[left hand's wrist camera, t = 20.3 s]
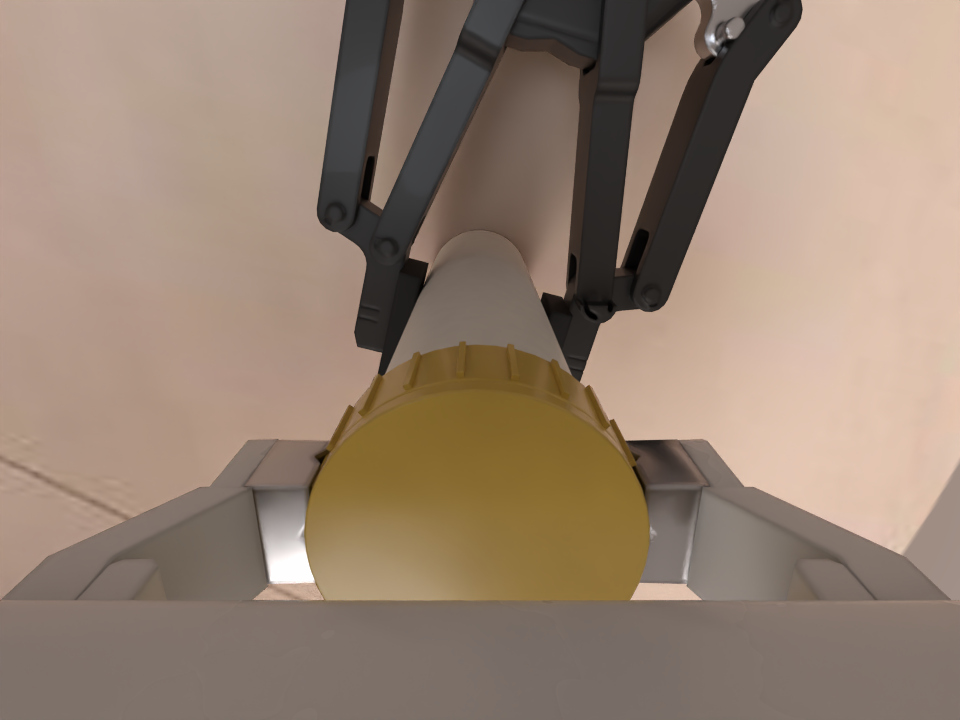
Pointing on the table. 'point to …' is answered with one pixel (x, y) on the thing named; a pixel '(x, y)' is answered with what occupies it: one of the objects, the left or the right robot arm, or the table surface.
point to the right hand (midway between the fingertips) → (445, 442)
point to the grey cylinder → (478, 302)
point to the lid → (477, 487)
